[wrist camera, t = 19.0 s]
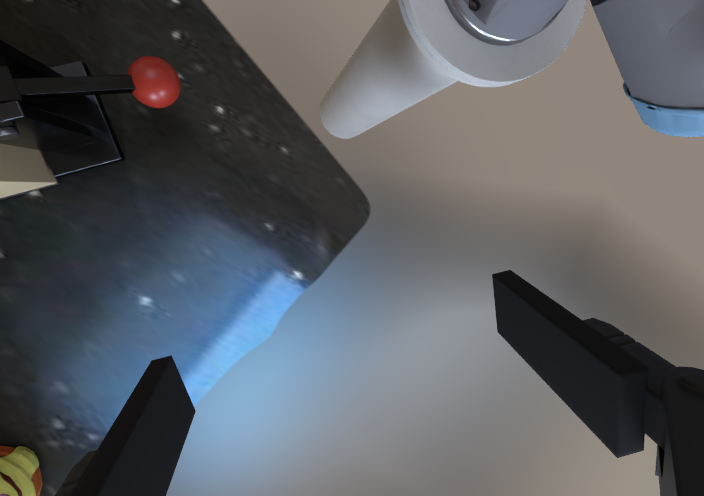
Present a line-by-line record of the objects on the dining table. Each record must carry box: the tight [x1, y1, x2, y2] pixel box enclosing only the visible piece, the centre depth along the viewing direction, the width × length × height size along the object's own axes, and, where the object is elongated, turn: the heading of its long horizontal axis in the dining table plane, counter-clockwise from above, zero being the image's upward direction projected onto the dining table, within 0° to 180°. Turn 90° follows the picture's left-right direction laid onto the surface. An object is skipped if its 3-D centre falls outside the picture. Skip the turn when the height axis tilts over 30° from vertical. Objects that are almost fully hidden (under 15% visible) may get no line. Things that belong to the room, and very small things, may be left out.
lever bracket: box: [0, 40, 125, 177], centre depth 30 cm, size 6×9×14 cm, turn 16°
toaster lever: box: [0, 56, 180, 108], centre depth 29 cm, size 14×4×4 cm
